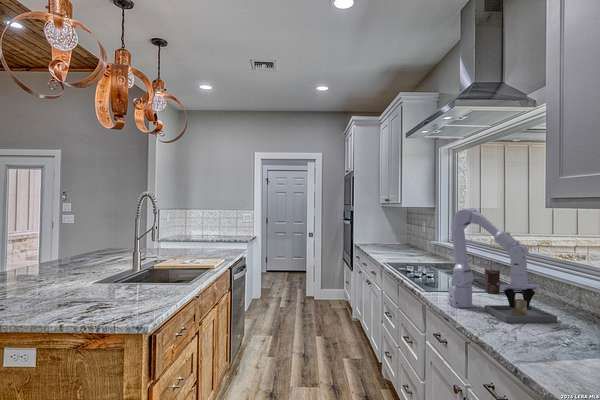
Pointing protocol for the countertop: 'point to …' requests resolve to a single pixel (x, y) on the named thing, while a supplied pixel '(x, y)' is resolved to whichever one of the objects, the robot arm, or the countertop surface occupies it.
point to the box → (492, 280)
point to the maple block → (519, 307)
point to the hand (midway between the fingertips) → (518, 307)
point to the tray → (532, 316)
